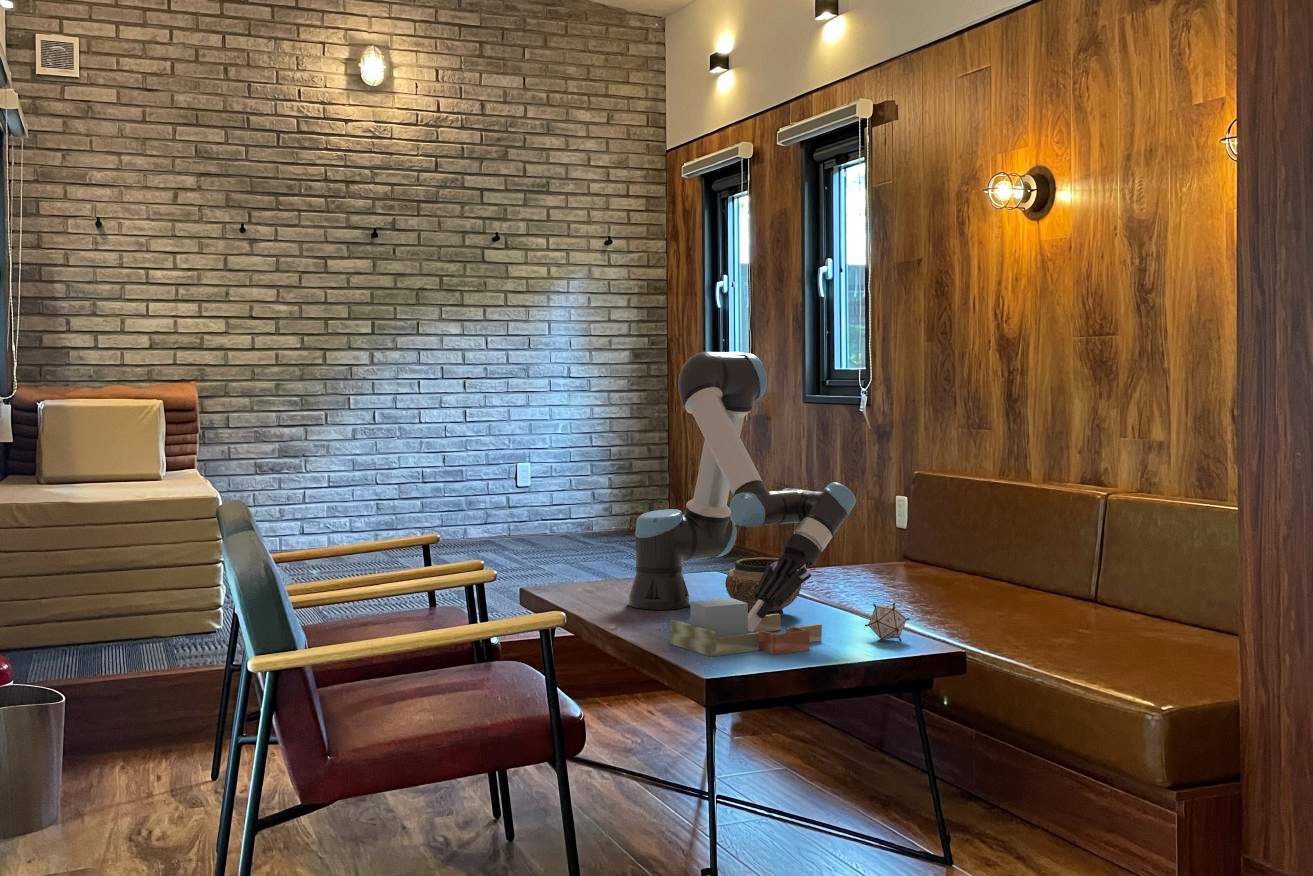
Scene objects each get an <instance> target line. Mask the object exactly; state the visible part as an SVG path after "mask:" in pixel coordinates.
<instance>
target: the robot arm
mask: <svg viewBox="0 0 1313 876" xmlns="http://www.w3.org/2000/svg"><path fill="white" fill-rule="evenodd" d="M677 381H678V382H677V385H678V386H677V387H678V388H677V389H678V393H679V398H680V402H681V403H682V405H683V407H684V410H685V412H687V413H688V414H691V415H692V416H693V417H694V420H695V421H696V424H697V426H698V428H699V429H700V432H701V433H702V436H703V438H704V442H703V447H702V450H701V457H700V462H699V467H698V472H697V473H698V474H697V478H696V483H695V490H694V494H693V498H692V499H690V500H688V501H687V502H686V504H685V509H684V513H683V512H682V510H679V509H676V508H675V509H673V508H672V509H669V508H667V509H658V510H652V511H648V512H644V513H642V514H640V515H639V516H638V517H637V518H636V522H635V532H634V535H635V576H634V579H633V582H632V586H631V588H630V592H629V596H628V605H629V606H630V607H632V608H634V609H635V608H636V609H641V610H650V611H651V610H655V611H658V610H659V611H661V610H662V611H663V610H666V611H667V610H677V609H683V608H686V607H688V606H690V594H689V590H688V588H687V584H686V582H685V579H684V576H683V575H684V574H683V561H693V560H705V559H706V560H710V559H711V560H712V559H715V558H719V557H724V556H725V555H727V554H728V553H729V552H730V551H731V550H732V549H733V547H734V546H735V542H736V539H737V534H738V531H737V527H736V525H737V526H741V527H754V528H755V527H756V528H757V527H759V526H771V525H787V524H798V523H799V525H798V526H797V527H796V528H795V530H794V531H793V534H791V535H790V537H789V539H788V540H787V541H786V542H785V544H784V546H783V547H784V549H783V550H784V553H783V554H782V555H781V556H780V557H778V558H779V559H778V561H776V562H774V563H772V562H771V561H768V562H767V565H766V570H765V572H764V574H763V576H762V578H761V580H760V582H759V584H758V586H757V587H756V589H755V591H754V593H753V595H754V596H755V598H756V599H757V601H756V602H755V604H754V605H753V606H752V608H751V609H750V611H749V613H748V631H751V632H753V631H754V630H755V628H756V627H757V626H758V624H759V623H760V621H761V620H762V619H763V618H764V617H765V616H766V614H767V613H768V612H769V610H770V609H771V608H773V607H774V606H778V607H780V606H781V605H782V604H783V603H784V602H785V601H786V600H787V599H788V598H789V597H790V596H791V595H792V594H793V593H794V592H795V591H796V589H797V588H798V587H799V586H800V585H801V586H802V584H803V583H804V582H806V581H807V580H809V579H810V578H811V577H812V574H811V573H810V572H809V571H808V568H811V567H813V566H814V565H815V563H816V562H817V560H818V559H819V557H820V556H821V553H822V552H823V551H824V550H825V549H826V547H827V545H828V544H829V543H830V541H831V540H832V539H833V538H834V536H835V534H837V532H838V530H839V529H840V527H841V526H842V525H843V524H844V522H845V521H846V519H847V518H848V516H850V514H851V512H852V510H853V509H854V508H855V505H856V504H857V499H856V496H855V495H854V493H853V492H852V490H851V489H850V488H848V487H847V486H845V485H844V484H842V483H839V482H835V481H833V482H830V483H829V484H828V485H827V486H826V487H824V490H823V491H814V490H808V489H801V488H798V487H795V488H794V487H793V488H791V487H790V488H789V487H787V488H783V489H782V490H768V489H767V487H766V485H765V483H764V482H763V480H762V478H761V476H760V473H759V471H758V469H757V468H756V466H755V463H754V462H753V460H752V458H751V456H750V454H749V452H748V450H747V448H746V446H745V443H744V442H743V440H742V438H741V434H742V429H743V425H744V421H745V420H744V419H745V417H746V415H748V414H749V413H751V412H752V411H753V405H754V401H757V400H759V399H761V398H762V397H763V396H764V395H765V393H766V391H767V387H768V386H767V385H768V376H767V371H766V369H765V367H764V363H763V362H762V361H761V360H760V358H759V357H758V356H757V355H755V354H753V353H747V352H740V351H728V352H727V351H726V352H725V351H723V352H722V351H719V352H718V351H701V352H698V353H695V354H693V355H692V356H690V358H688V359H687V361H685V362H684V363H683V365H682V367H681V369H680V372H679V375H678V379H677ZM730 492H731V495H732V496H733V497H732V499H731V500H730V503H729V506H728V500H729V495H730ZM779 599H780V600H779Z"/></svg>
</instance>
